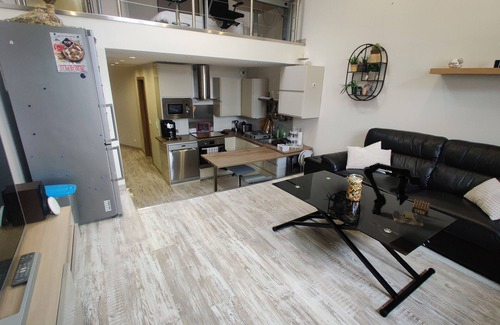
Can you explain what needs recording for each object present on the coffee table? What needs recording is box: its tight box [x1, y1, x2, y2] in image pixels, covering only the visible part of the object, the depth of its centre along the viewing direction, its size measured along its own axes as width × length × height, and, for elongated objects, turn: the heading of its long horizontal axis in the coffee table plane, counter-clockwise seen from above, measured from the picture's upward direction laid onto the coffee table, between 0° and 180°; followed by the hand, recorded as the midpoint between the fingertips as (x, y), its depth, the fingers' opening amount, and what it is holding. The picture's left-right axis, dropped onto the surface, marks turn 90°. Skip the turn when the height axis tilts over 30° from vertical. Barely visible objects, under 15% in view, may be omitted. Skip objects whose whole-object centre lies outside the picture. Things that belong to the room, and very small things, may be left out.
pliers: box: [369, 221, 399, 238], centre depth 169 cm, size 10×1×20 cm
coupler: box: [402, 210, 414, 220], centre depth 181 cm, size 5×6×5 cm
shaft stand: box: [391, 210, 424, 227], centre depth 182 cm, size 18×10×6 cm, turn 70°
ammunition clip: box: [411, 198, 430, 218], centre depth 191 cm, size 11×2×12 cm, turn 42°
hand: (398, 202), depth 187 cm, fingers open, 9 cm apart
